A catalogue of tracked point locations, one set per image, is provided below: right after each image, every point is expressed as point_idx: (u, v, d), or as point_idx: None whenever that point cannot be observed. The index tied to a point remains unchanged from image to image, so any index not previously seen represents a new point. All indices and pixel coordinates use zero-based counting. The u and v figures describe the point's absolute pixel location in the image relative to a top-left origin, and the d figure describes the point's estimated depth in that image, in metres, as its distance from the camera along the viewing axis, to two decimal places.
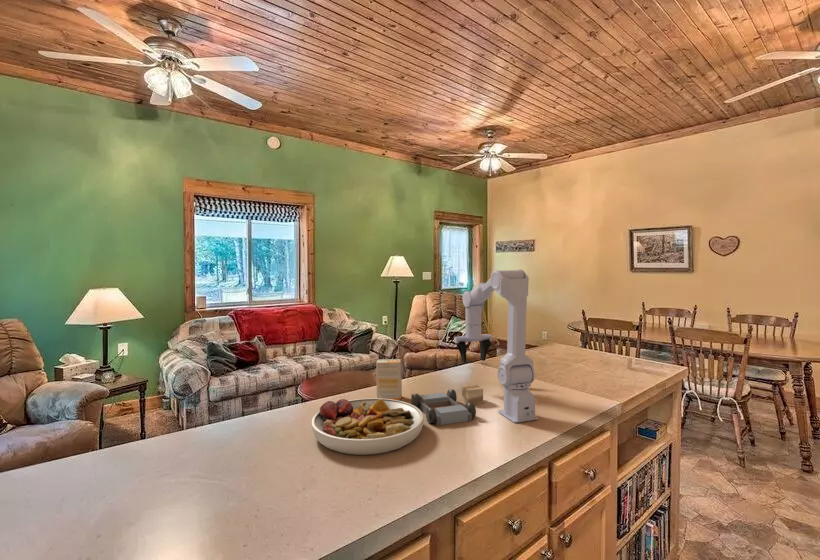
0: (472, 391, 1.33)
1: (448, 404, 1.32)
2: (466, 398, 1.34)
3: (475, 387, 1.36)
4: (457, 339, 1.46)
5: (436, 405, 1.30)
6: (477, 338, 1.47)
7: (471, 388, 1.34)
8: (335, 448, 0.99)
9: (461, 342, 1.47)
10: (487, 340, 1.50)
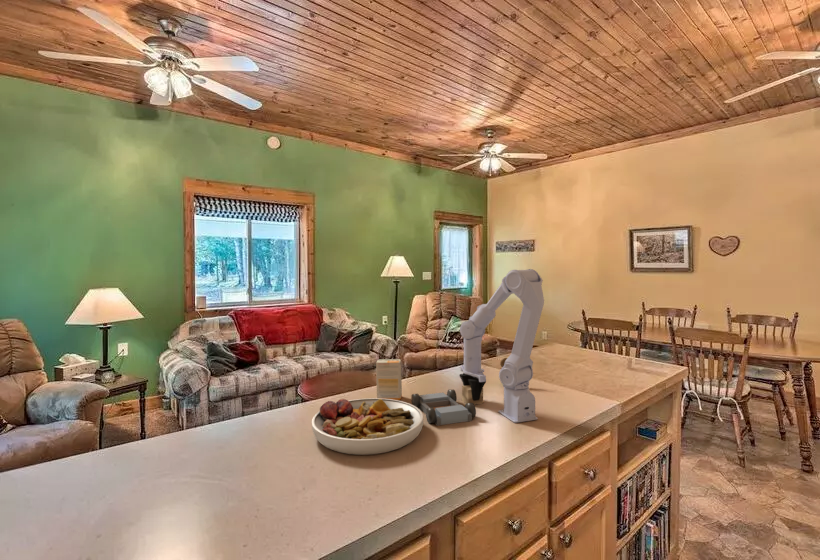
0: None
1: (448, 404, 1.32)
2: (466, 398, 1.34)
3: None
4: (460, 367, 1.42)
5: (436, 405, 1.30)
6: (464, 372, 1.34)
7: None
8: (335, 448, 0.99)
9: (463, 371, 1.40)
10: (475, 379, 1.31)
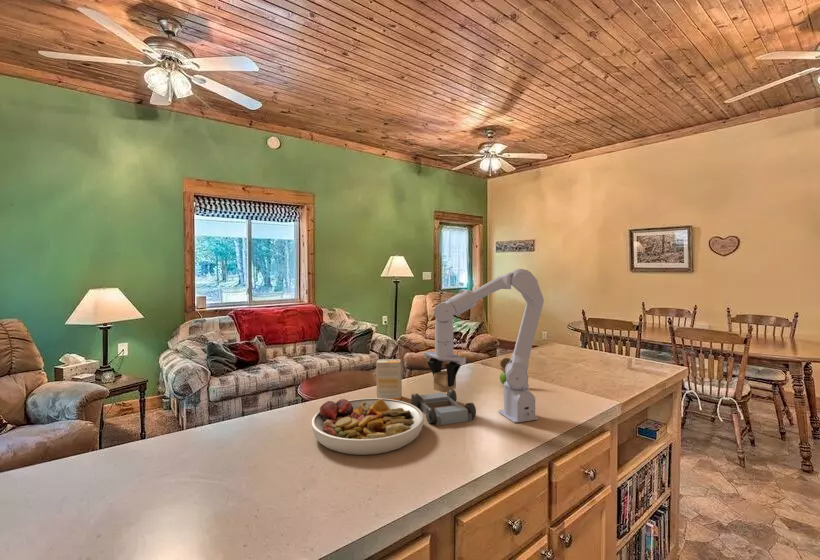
0: None
1: (448, 404, 1.32)
2: (442, 385, 1.25)
3: (446, 372, 1.28)
4: (424, 354, 1.31)
5: (436, 405, 1.30)
6: (438, 357, 1.25)
7: (445, 374, 1.26)
8: (335, 448, 0.99)
9: None
10: (453, 363, 1.24)
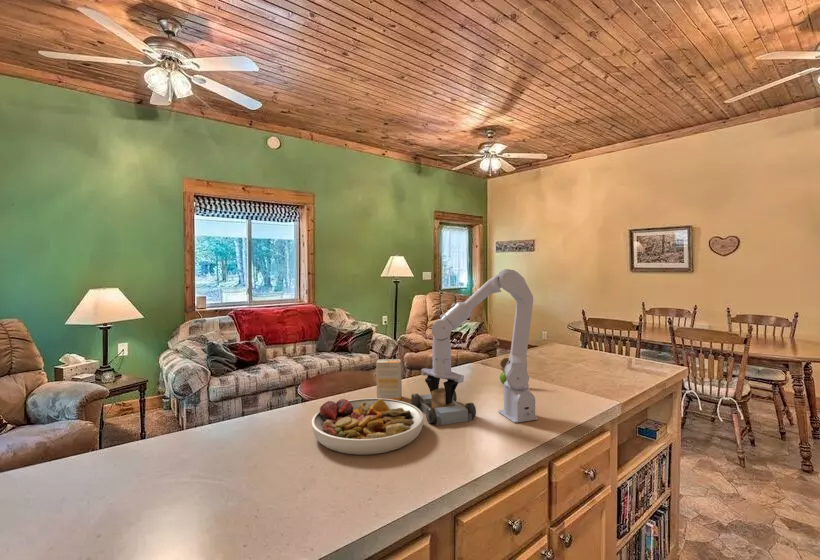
0: None
1: None
2: (440, 403, 1.24)
3: (444, 389, 1.28)
4: (422, 371, 1.30)
5: None
6: (436, 375, 1.24)
7: (443, 391, 1.26)
8: (335, 448, 0.99)
9: (426, 375, 1.29)
10: (451, 380, 1.23)
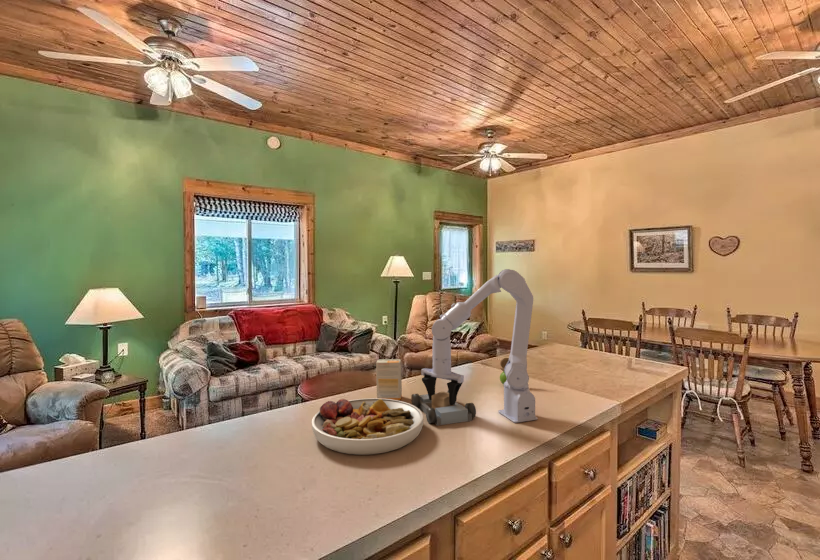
0: (446, 398, 1.25)
1: None
2: None
3: (444, 394, 1.28)
4: (422, 371, 1.30)
5: None
6: (436, 375, 1.24)
7: (443, 396, 1.26)
8: (335, 448, 0.99)
9: (426, 375, 1.29)
10: (454, 381, 1.23)
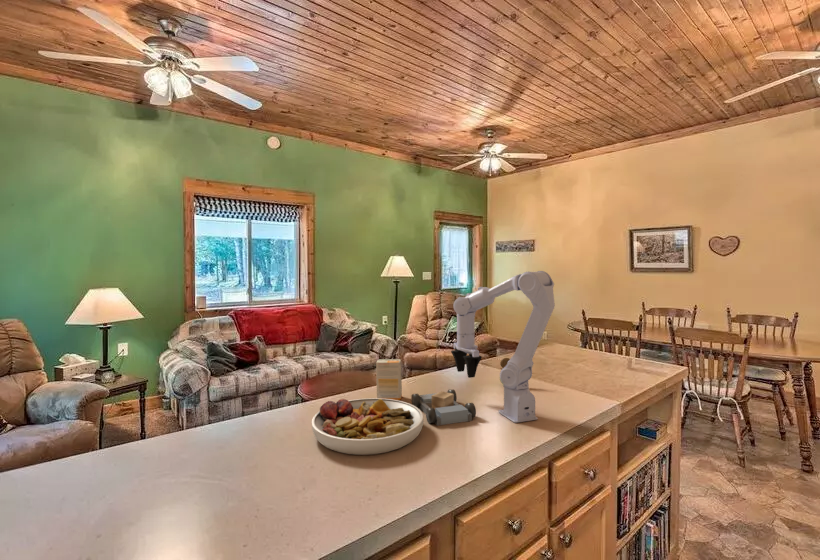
0: (446, 398, 1.25)
1: None
2: None
3: (444, 394, 1.28)
4: (454, 344, 1.41)
5: None
6: (457, 348, 1.34)
7: (443, 396, 1.26)
8: (335, 448, 0.99)
9: (456, 349, 1.39)
10: (471, 355, 1.30)
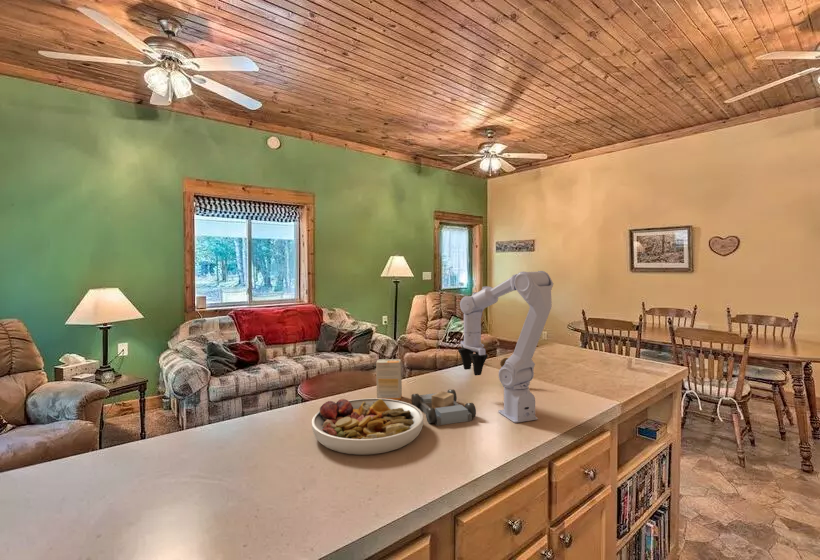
0: (446, 398, 1.25)
1: None
2: None
3: (444, 394, 1.28)
4: (460, 343, 1.43)
5: None
6: (464, 346, 1.36)
7: (443, 396, 1.26)
8: (335, 448, 0.99)
9: (463, 347, 1.42)
10: (477, 353, 1.32)
